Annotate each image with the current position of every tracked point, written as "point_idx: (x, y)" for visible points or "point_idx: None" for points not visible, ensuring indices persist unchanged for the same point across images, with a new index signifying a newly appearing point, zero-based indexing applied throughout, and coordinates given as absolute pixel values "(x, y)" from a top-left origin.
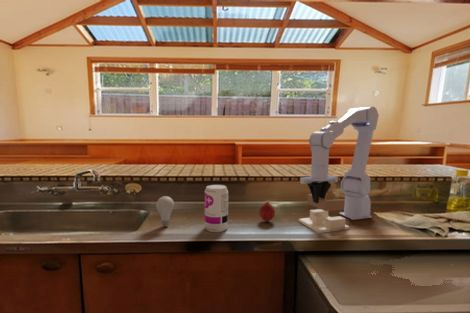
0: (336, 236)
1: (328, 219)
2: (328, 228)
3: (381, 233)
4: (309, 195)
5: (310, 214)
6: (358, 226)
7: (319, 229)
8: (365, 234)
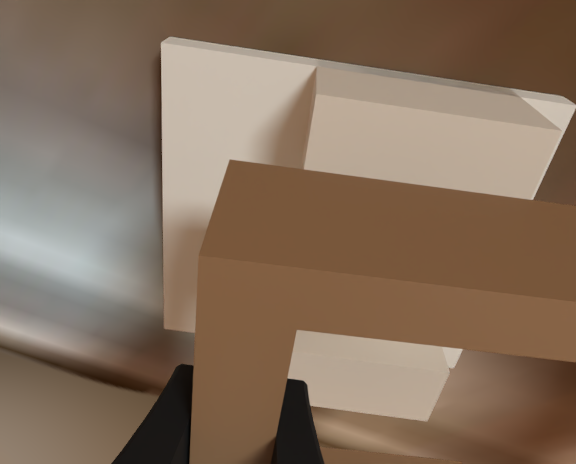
0: None
1: None
2: None
3: (556, 451)
4: (198, 293)
5: (313, 93)
6: None
7: (186, 322)
8: (453, 427)
